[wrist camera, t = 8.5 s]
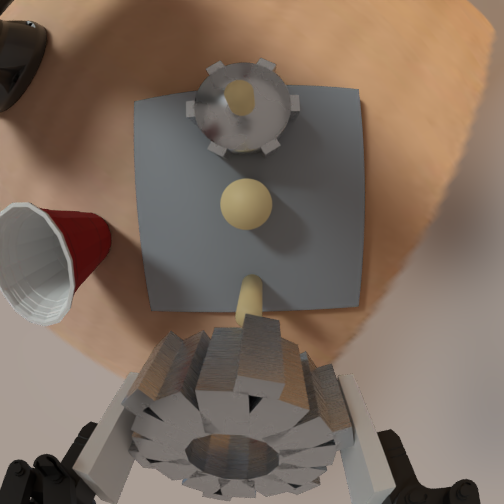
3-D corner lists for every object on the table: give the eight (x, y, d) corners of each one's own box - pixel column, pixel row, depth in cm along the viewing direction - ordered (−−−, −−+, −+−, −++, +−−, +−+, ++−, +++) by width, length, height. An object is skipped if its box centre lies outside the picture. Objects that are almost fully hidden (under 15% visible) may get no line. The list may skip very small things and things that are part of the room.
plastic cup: (126, 295, 30) (70, 349, 18) (58, 267, 30) (-6, 301, 18) (141, 202, 27) (72, 219, 16) (66, 182, 27) (-9, 191, 15)
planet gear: (169, 441, 14) (152, 490, 10) (129, 310, 12) (84, 359, 8) (323, 444, 13) (332, 496, 9) (345, 309, 11) (378, 365, 7)
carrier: (155, 305, 30) (124, 344, 22) (140, 104, 25) (99, 82, 16) (354, 300, 29) (382, 340, 21) (354, 93, 24) (386, 64, 15)
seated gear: (198, 162, 25) (187, 159, 21) (196, 79, 23) (186, 64, 19) (296, 158, 24) (302, 154, 20) (291, 74, 22) (295, 57, 18)
